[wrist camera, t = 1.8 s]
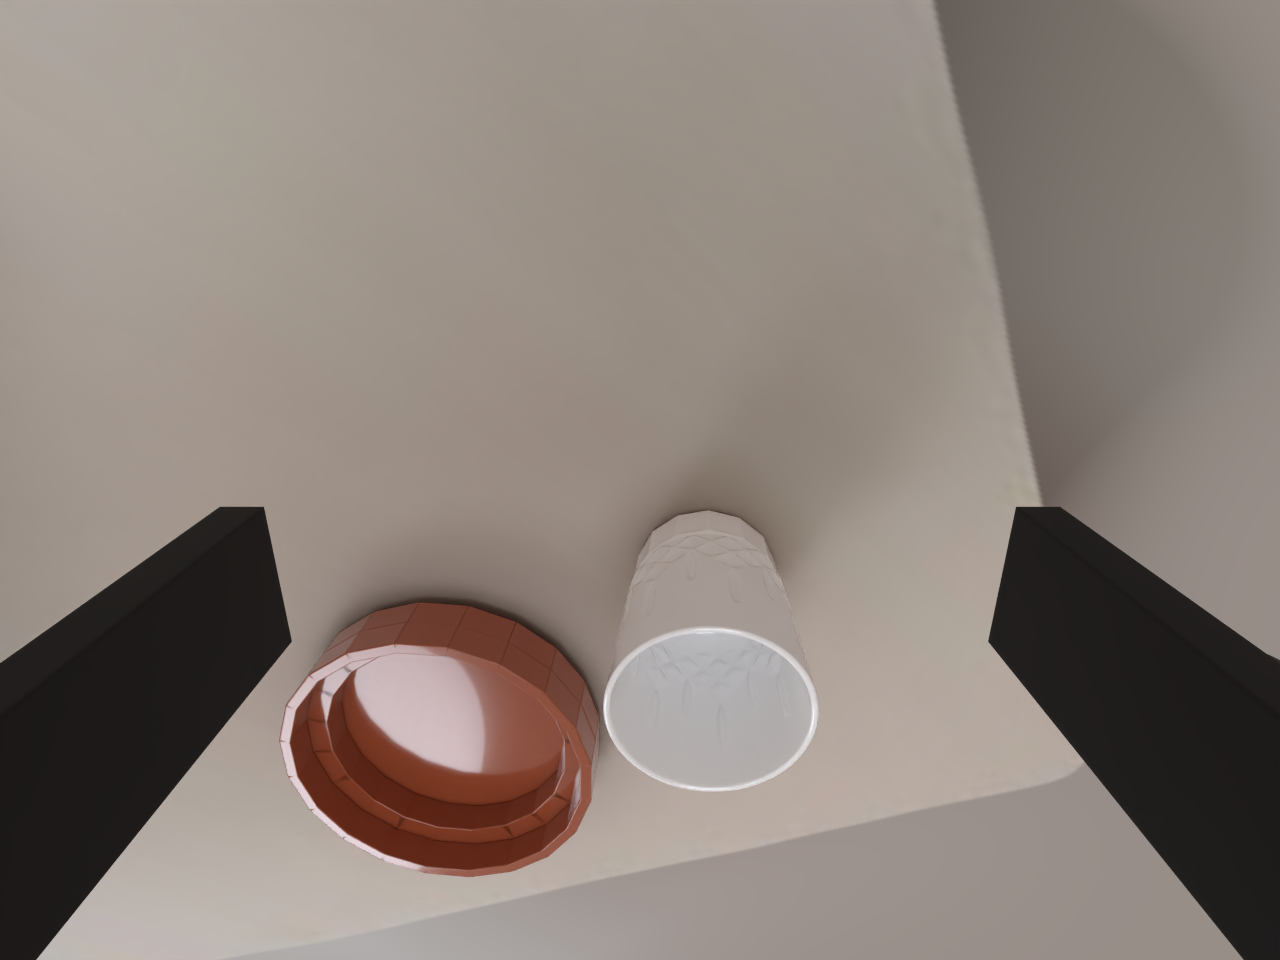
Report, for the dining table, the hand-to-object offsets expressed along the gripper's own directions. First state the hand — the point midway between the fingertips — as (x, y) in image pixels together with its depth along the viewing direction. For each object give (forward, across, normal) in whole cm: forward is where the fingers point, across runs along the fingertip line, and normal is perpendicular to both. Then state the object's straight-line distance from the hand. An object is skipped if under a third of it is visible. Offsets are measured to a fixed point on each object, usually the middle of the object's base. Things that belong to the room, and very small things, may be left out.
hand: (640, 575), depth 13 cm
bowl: (+22, +10, +21) cm, 32 cm away
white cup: (+20, -3, +11) cm, 23 cm away
